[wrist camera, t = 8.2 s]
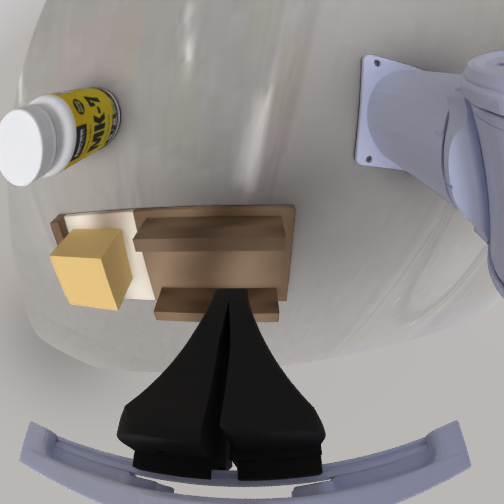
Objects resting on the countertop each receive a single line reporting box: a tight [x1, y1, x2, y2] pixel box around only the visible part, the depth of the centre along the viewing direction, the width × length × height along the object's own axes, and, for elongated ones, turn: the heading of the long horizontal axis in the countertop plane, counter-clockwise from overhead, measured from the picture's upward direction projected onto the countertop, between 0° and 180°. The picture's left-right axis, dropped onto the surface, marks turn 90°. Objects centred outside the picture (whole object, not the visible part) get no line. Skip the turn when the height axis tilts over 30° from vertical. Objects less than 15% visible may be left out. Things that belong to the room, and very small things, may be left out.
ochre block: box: [50, 229, 133, 310], centre depth 20 cm, size 5×5×4 cm
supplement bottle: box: [0, 88, 120, 186], centre depth 12 cm, size 5×5×8 cm
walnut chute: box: [50, 205, 295, 322], centre depth 21 cm, size 20×9×4 cm, turn 90°
